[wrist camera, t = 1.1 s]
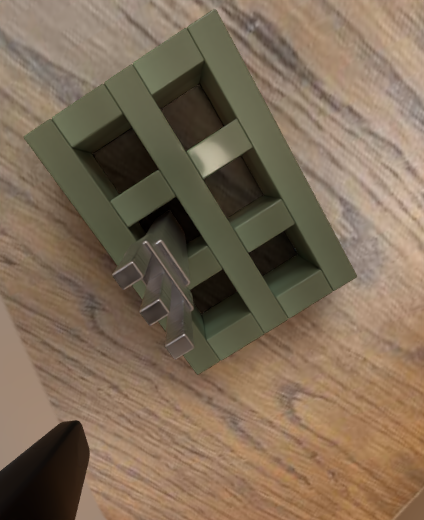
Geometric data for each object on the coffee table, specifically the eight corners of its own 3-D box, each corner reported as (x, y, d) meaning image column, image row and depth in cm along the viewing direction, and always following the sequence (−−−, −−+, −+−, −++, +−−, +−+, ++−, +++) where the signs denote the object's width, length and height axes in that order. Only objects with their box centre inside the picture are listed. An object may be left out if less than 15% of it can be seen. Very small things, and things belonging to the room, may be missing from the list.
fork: (173, 247, 19) (164, 367, 7) (151, 214, 19) (99, 281, 7) (188, 238, 19) (205, 342, 7) (166, 204, 19) (143, 253, 6)
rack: (194, 343, 21) (197, 376, 17) (52, 144, 18) (22, 136, 14) (328, 260, 20) (358, 276, 17) (208, 41, 17) (215, 6, 14)
